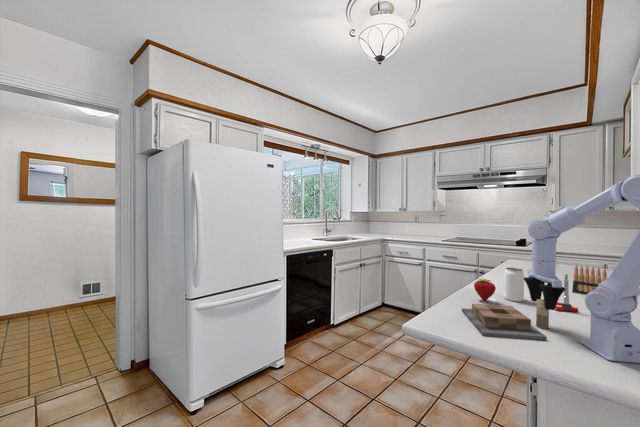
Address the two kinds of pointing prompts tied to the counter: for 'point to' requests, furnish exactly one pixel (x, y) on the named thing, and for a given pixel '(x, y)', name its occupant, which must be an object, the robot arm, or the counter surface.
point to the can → (514, 284)
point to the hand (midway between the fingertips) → (542, 305)
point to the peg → (542, 315)
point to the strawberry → (484, 288)
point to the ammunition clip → (587, 280)
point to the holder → (502, 322)
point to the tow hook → (566, 299)
